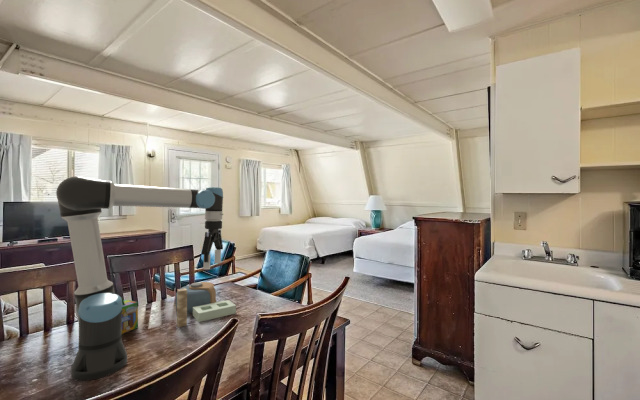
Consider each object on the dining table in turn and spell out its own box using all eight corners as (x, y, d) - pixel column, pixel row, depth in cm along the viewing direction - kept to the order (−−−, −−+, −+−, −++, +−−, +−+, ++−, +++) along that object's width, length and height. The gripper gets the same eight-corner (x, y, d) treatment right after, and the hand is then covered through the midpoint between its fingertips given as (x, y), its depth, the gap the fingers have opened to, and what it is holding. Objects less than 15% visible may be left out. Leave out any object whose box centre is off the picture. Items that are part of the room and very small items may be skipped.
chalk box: (138, 328, 131) (138, 294, 131) (116, 336, 122) (116, 300, 122) (126, 324, 135) (126, 291, 135) (103, 332, 127) (104, 297, 127)
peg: (178, 327, 132) (178, 291, 132) (176, 324, 134) (177, 289, 134) (186, 325, 134) (187, 290, 134) (184, 322, 136) (185, 288, 136)
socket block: (198, 322, 138) (198, 313, 138) (192, 315, 146) (192, 307, 146) (235, 313, 149) (236, 305, 149) (228, 307, 157) (228, 299, 157)
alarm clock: (220, 308, 156) (220, 285, 156) (178, 316, 144) (179, 291, 144) (211, 298, 172) (211, 277, 172) (172, 304, 160) (173, 282, 160)
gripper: (211, 222, 126) (210, 272, 126) (230, 219, 151) (228, 261, 150) (194, 221, 126) (192, 272, 126) (215, 218, 151) (214, 260, 151)
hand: (212, 266), depth 138 cm, fingers open, 13 cm apart
